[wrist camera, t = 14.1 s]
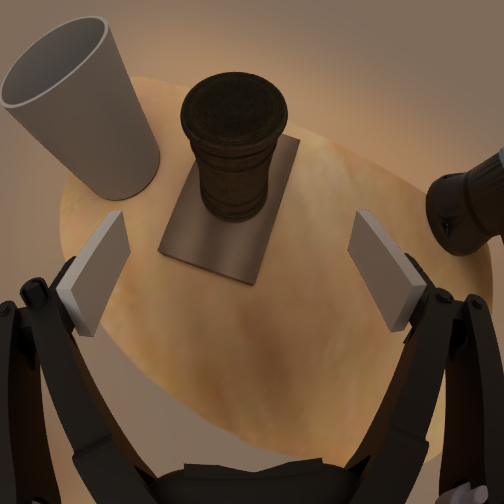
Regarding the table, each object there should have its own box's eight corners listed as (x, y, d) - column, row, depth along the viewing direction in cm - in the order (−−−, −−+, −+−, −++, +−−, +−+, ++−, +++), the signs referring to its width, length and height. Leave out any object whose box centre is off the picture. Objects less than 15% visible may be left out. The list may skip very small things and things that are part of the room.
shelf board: (296, 149, 42) (300, 140, 40) (252, 285, 38) (253, 284, 35) (218, 125, 42) (217, 115, 40) (162, 254, 38) (157, 250, 35)
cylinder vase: (115, 218, 39) (11, 131, 14) (78, 169, 40) (-8, 81, 15) (176, 161, 41) (132, 32, 16) (132, 120, 42) (81, 8, 17)
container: (247, 235, 37) (259, 175, 19) (187, 202, 37) (153, 126, 19) (279, 179, 38) (311, 94, 20) (222, 150, 38) (217, 56, 21)
